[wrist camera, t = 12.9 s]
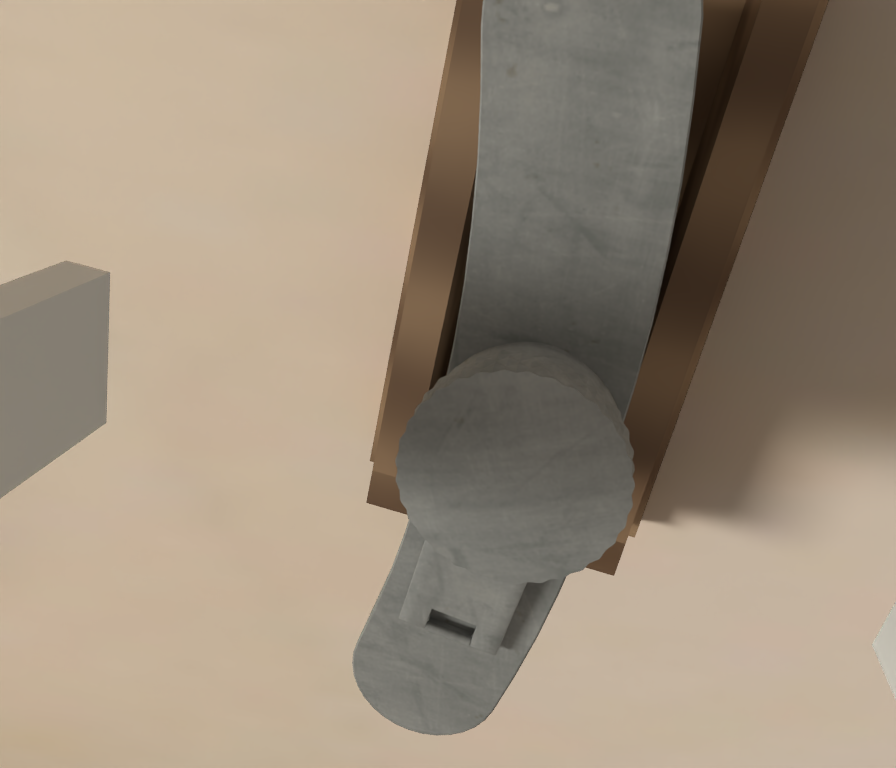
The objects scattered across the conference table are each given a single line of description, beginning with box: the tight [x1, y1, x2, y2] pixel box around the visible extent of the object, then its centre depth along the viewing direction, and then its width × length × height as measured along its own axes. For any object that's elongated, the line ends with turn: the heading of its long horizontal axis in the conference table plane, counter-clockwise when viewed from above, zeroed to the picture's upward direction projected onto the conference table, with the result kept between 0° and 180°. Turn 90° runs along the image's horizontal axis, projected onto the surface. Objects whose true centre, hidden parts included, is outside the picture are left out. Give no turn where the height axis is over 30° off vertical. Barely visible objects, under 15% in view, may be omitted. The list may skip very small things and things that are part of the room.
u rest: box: [366, 0, 829, 576], centre depth 29 cm, size 24×12×6 cm, turn 168°
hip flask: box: [352, 0, 703, 735], centre depth 21 cm, size 16×4×20 cm, turn 168°
